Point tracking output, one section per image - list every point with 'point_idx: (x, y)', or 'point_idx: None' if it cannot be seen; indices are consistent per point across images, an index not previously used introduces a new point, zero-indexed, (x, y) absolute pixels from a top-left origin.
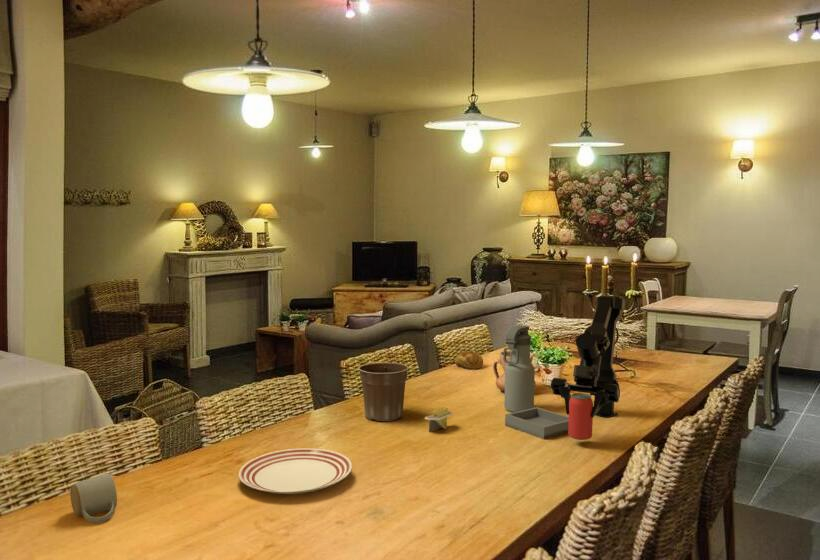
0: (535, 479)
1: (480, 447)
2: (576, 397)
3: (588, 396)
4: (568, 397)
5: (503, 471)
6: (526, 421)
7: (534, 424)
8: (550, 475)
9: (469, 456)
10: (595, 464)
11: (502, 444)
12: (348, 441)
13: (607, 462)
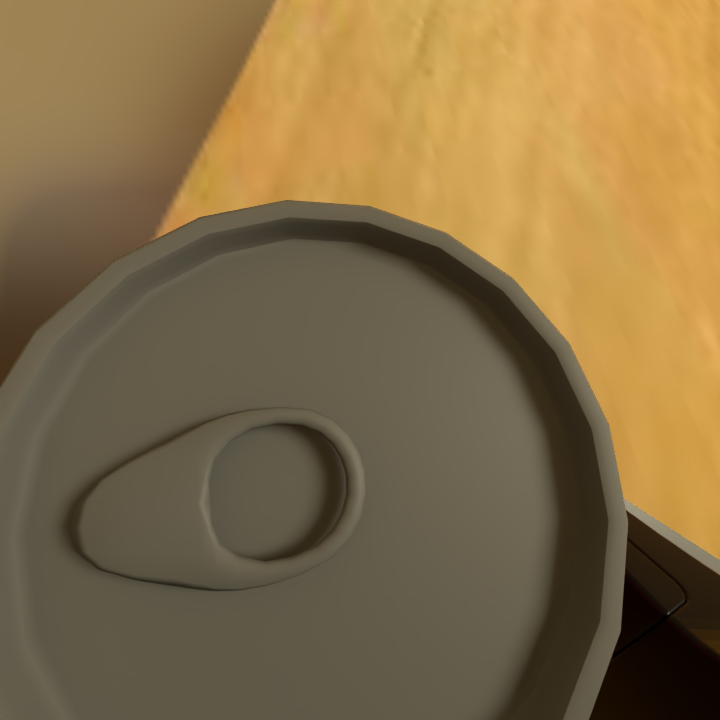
0: (423, 19)
1: (702, 246)
2: (426, 232)
3: (74, 625)
4: (626, 566)
5: (534, 57)
6: (707, 553)
7: (639, 509)
8: (384, 54)
9: (685, 150)
10: (226, 187)
11: (650, 308)
12: None
13: (170, 223)
